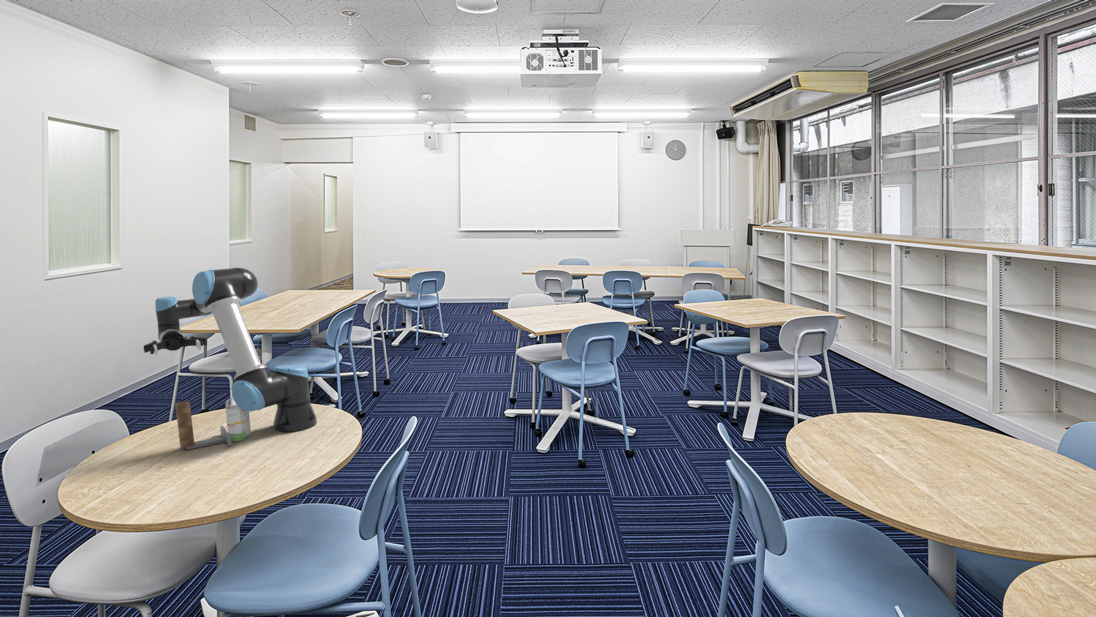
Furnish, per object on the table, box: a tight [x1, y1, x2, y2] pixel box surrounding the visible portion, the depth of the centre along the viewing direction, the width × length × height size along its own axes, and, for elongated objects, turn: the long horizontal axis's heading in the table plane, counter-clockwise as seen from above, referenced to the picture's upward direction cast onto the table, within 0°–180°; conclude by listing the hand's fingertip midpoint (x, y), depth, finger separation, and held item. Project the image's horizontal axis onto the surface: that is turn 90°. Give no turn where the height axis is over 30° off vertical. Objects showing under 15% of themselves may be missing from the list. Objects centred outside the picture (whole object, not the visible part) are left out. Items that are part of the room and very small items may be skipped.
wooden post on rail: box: [174, 400, 233, 451], centre depth 217 cm, size 14×16×16 cm
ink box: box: [225, 396, 252, 442], centre depth 224 cm, size 9×5×15 cm, turn 6°
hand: (178, 348), depth 226 cm, fingers open, 13 cm apart
